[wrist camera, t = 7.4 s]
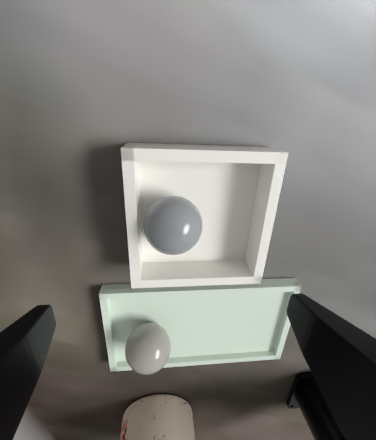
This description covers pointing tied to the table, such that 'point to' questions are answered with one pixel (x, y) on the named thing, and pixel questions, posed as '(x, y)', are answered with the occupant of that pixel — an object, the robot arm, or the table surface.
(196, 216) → the pebble
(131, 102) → the table surface
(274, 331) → the tray
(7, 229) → the table surface
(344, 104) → the table surface
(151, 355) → the pebble
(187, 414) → the teacup with lid
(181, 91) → the table surface
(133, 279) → the open box
